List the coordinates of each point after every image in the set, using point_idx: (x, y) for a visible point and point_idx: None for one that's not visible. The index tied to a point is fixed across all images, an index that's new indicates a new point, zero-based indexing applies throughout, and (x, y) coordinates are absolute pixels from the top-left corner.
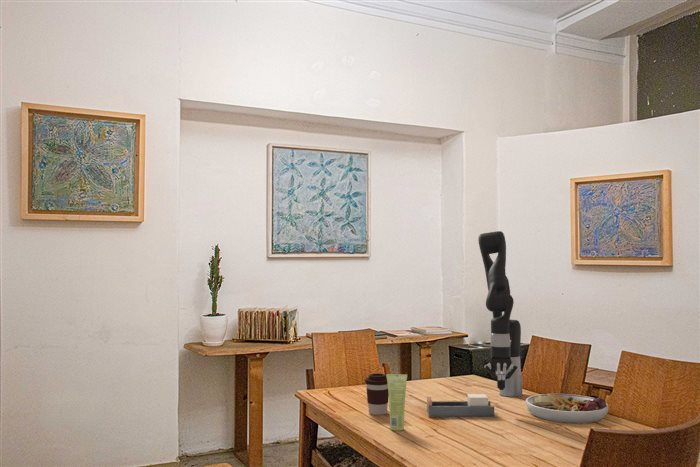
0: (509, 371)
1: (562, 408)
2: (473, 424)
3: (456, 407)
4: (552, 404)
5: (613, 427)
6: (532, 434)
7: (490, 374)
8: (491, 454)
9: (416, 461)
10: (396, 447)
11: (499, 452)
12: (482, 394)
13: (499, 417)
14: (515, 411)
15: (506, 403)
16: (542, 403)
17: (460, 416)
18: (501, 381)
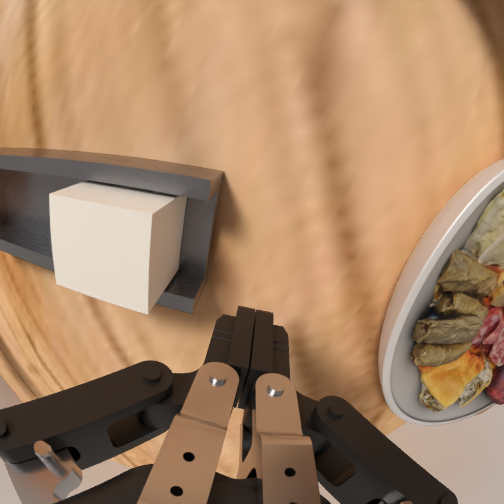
0: (353, 480)
1: (434, 405)
2: (109, 341)
3: (38, 263)
4: (468, 341)
5: None
6: None
7: (103, 388)
8: (138, 461)
9: None
10: (13, 386)
11: (151, 462)
12: (130, 220)
13: (228, 290)
14: (363, 204)
15: (390, 34)
16: (447, 332)
17: None
18: (236, 401)
